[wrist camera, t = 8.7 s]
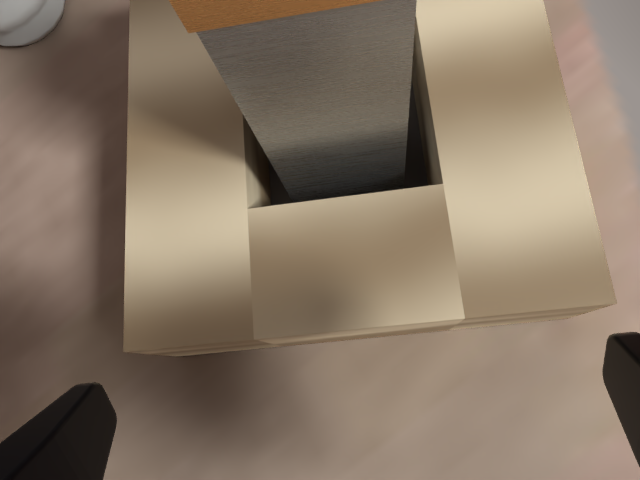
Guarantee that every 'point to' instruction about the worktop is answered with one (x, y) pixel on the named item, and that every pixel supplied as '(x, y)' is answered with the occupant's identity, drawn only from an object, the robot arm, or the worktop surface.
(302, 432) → the worktop surface
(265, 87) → the square bit
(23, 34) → the rook chess piece
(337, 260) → the socket block
